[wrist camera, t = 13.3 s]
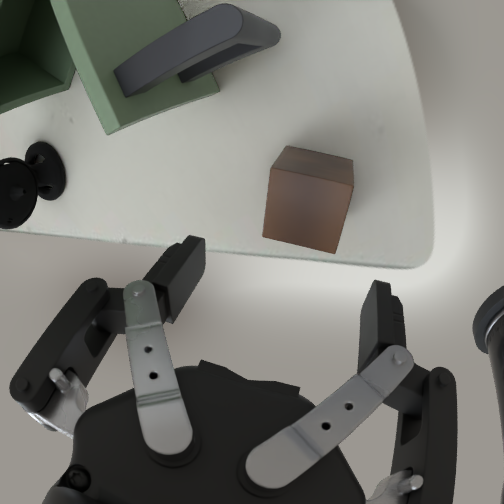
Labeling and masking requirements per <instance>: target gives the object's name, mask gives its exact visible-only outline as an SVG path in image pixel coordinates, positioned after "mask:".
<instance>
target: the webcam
mask: <svg viewBox="0 0 504 504" xmlns="http://www.w3.org/2000/svg"><path fill="white" fill-rule="evenodd" d="M37 154H40V155H42V156H43V157H44V158H45V160H44V161H43V162H42V163H37V164H35V157H36V155H37ZM4 163H9V164H5V165H4ZM46 185H51V186H53V187H52V189H49V188H47V187H45V186H46ZM64 185H65V174H64V169H63V165H62V163H61V160H60V158H59V157H58V155H57V153H56V152H55V150H54V149H53V148H52V147H51V146H50V145H48V144H47V143H44V142H36V143H34V144H32V145H31V146H30V147H29V148H28V150H27V152H26V155H25V161H23V160H21V159H18V158H11V157H10V158H5V159H2V160H0V228H2V229H13V228H17V227H19V226H20V225H22V224H23V223H24V222H25V221H27V219H28V218H29V217H30V216H31V214H32V212H33V210H34V208H35V205H36V202H37V197H38V195H39V196H40V197H41V198H43V199H45V200H49V201H51V200H55V199H57V198H58V197H59V196H60V195H61V194H62V192H63V190H64Z"/></svg>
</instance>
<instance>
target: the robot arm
mask: <svg viewBox="0 0 504 504" xmlns="http://www.w3.org/2000/svg"><path fill="white" fill-rule="evenodd" d="M205 264H206V263H205V239H204V238H200V237H196V236H192V235H189V236H187V238H186V239H185V240H184V241H183V243H182V244H180V243H176V244H174V245H172V246H170V247H169V248H168V249H167V250H166V251H165V252H164V253H163V255H162V256H161V257H160V258H159V260H158V261H157V262H156V263H155V265H154V266H153V267H152V268H151V269H150V271H149V272H148V273H147V274H146V276H145V277H144V278H143V279H142V280H137V281H133V282H131V283H129V284H128V285H127V286H126V287H125V288H108V286H107V283H106V281H105V280H103V279H101V278H91V279H88V280H86V281H84V283H82V284H81V285H80V287H79V288H78V289H77V290H76V291H75V293H74V294H73V295H72V296H71V298H70V299H69V300H68V302H67V303H66V304H65V305H64V307H63V308H62V309H61V310H60V312H59V313H58V314H57V316H56V317H55V318H54V320H53V321H52V323H51V324H50V325H49V326H48V328H47V329H46V330H45V332H44V333H43V334H42V336H41V337H40V339H39V340H38V341H37V343H36V344H35V346H34V347H33V348H32V350H31V351H30V353H29V354H28V356H27V357H26V359H25V360H24V361H23V363H22V364H21V366H20V367H19V369H18V370H17V372H16V373H15V375H14V377H13V378H12V380H11V382H10V388H9V389H10V394H11V396H12V397H13V399H14V400H15V401H17V403H19V404H20V405H21V406H22V408H23V409H24V410H25V411H26V412H27V413H28V414H29V415H30V416H31V417H32V418H34V419H35V420H36V421H37V422H39V423H41V424H42V425H43V426H44V427H45V428H47V429H48V430H50V431H60V432H61V433H63V434H65V435H66V436H68V437H70V438H72V439H73V453H72V458H71V462H70V465H69V467H68V469H67V470H66V472H65V473H64V474H63V475H62V477H61V478H60V479H59V480H58V481H57V482H56V483H55V484H54V485H53V486H52V487H51V488H50V490H49V492H48V493H47V495H46V497H45V499H44V501H43V503H42V504H452V503H453V495H454V486H455V475H456V461H457V393H456V381H455V378H454V376H453V374H452V373H451V372H450V371H449V370H448V369H446V368H443V367H436V368H434V369H432V371H431V372H430V371H428V370H426V369H424V368H422V367H420V366H418V365H416V364H415V363H414V359H413V356H412V355H411V353H410V352H409V351H408V350H407V349H406V335H405V324H404V316H403V305H402V304H401V302H400V300H399V298H398V297H397V296H393V295H391V286H390V283H386V282H382V281H378V280H374V281H373V283H372V286H371V288H370V290H369V292H368V294H367V297H366V299H365V301H364V303H363V307H362V310H361V316H360V339H359V340H360V341H359V357H358V370H357V374H355V375H354V376H353V377H352V378H350V379H349V380H348V381H347V382H346V383H345V384H343V385H342V386H341V387H340V388H339V389H337V390H336V391H335V392H334V393H333V394H331V395H330V396H329V397H328V398H326V399H325V400H324V401H323V402H321V403H320V404H319V405H318V406H315V405H314V404H313V403H312V402H310V401H309V400H308V399H306V398H305V397H303V396H301V395H299V391H300V387H297V386H293V385H289V384H284V383H281V382H277V381H256V380H255V381H254V380H247V379H245V378H243V377H241V376H240V375H238V374H236V373H234V372H233V371H231V370H229V369H227V368H226V367H223V366H220V365H216V364H213V363H210V362H207V361H204V360H201V361H200V363H199V365H198V366H184V367H179V368H176V369H174V368H173V364H172V360H171V356H170V353H169V349H168V345H167V341H166V337H165V333H164V329H163V324H164V323H165V321H166V322H169V323H172V324H173V323H174V321H175V320H176V318H177V317H178V315H179V313H180V312H181V310H182V308H183V307H184V305H185V303H186V302H187V300H188V298H189V297H190V295H191V294H192V292H193V290H194V289H195V287H196V285H197V284H198V282H199V280H200V279H201V277H202V275H203V273H204V270H205ZM117 334H126V341H127V348H128V354H129V361H130V366H131V373H132V379H133V384H134V388H133V389H130V390H128V391H126V392H124V393H122V394H119V395H117V396H115V397H113V398H111V399H108V400H106V401H104V402H102V403H99V404H97V405H95V406H92V407H91V408H89V409H87V410H86V405H87V402H88V392H87V390H86V387H87V385H88V383H89V381H90V379H91V378H92V376H93V374H94V373H95V371H96V369H97V367H98V366H99V364H100V362H101V361H102V359H103V357H104V356H105V354H106V352H107V351H108V349H109V347H110V346H111V344H112V342H113V341H114V339H115V337H116V336H117ZM484 340H485V344H486V347H487V349H488V353H489V358H490V362H491V367H492V372H493V377H494V382H495V387H496V393H497V399H498V404H499V412H500V419H501V428H502V439H503V450H504V307H503V308H502V309H500V310H499V311H498V312H497V313H496V314H495V315H494V316H493V317H492V319H491V320H490V321H489V323H488V325H487V327H486V329H485V332H484ZM381 403H384V404H386V405H388V406H390V407H392V408H394V409H396V410H398V411H399V412H398V422H397V432H396V440H395V448H394V455H393V461H392V467H391V474H390V476H389V477H387V478H385V479H383V480H381V481H380V482H379V484H378V485H377V486H376V489H375V491H374V494H373V495H372V496H371V498H369V499H368V500H366V499H365V495H364V492H363V490H362V488H361V486H360V484H359V482H358V480H357V479H356V477H355V475H354V473H353V471H352V470H351V468H350V466H349V464H348V462H347V461H346V459H345V457H344V455H343V453H342V451H341V450H340V448H339V446H338V444H340V443H341V442H342V441H343V440H344V439H345V438H347V437H348V436H349V435H350V434H351V433H352V432H353V431H354V430H355V429H356V428H357V427H358V426H359V425H360V424H361V423H362V422H363V421H365V420H366V418H368V417H369V416H370V415H371V414H372V413H373V412H374V411H375V410H376V408H377V407H378V406H379V405H380V404H381ZM501 504H504V483H503V488H502V494H501Z"/></svg>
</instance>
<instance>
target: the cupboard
mask: <svg viewBox="0 0 504 504" xmlns="http://www.w3.org/2000/svg"><path fill="white" fill-rule="evenodd" d="M75 69H76V67H75V64H74V62H73V59H72V57H71V54H70V52H69V50H68V47H67V44H66V42H65V39H64V37H63V34H62V32H61V29H60V26H59V24H58V21H57V18H56V16H55V13H54V10H53V7H52V4H51V1H50V0H0V114H2V113H4V112H7V111H9V110H12V109H14V108H16V107H19V106H22V105H24V104H27V103H30V102H32V101H35V100H38V99H41V98H44V97H47V96H50V95H53V94H56V93H59V92H62V91H65V90H68V89H69V87H70V84H71V81H72V78H73V75H74V72H75Z"/></svg>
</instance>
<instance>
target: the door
mask: <svg viewBox="0 0 504 504" xmlns="http://www.w3.org/2000/svg"><path fill="white" fill-rule="evenodd" d="M50 1H51V4H52V7H53V10H54V13H55V16H56V18H57V21H58V24H59V26H60V29H61V32H62V34H63V37H64V39H65V42H66V44H67V47H68V50H69V52H70V54H71V57H72V59H73V62H74V64H75V67H76V69H77V71H78V74H79V76H80V78H81V81H82V83H83V85H84V87H85V90H86V92H87V94H88V96H89V99H90V101H91V103H92V105H93V107H94V110H95V112H96V114H97V116H98V118H99V120H100V122H101V124H102V127H103V129H104V131H105V133H106V135H110V134H112V133H115V132H117V131H119V130H121V129H124V128H126V127H128V126H130V125H133V124H135V123H137V122H140V121H142V120H145V119H147V118H150V117H152V116H155V115H157V114H160V113H162V112H165V111H168V110H170V109H173V108H176V107H179V106H182V105H184V104H187V103H190V102H193V101H196V100H199V99H202V98H205V97H208V96H211V95H213V94H215V93H218V92H219V91H220V90H219V88H218V86H217V83H216V81H215V79H214V77H213V75H212V73H211V72H213V71H215V70H217V69H219V68H222V67H224V66H226V65H228V64H230V63H233V62H235V61H237V60H240V59H242V58H244V57H247V56H249V55H252V54H254V53H257V52H259V51H262V50H264V49H267V48H269V47H272V46H274V45H276V44H277V43H278V42H279V40H280V38H281V33H280V30H279V28H278V27H277V26H276V25H274V24H272V23H270V22H268V21H266V20H264V19H262V18H260V17H258V16H256V15H254V14H252V13H249V12H247V11H245V10H243V9H241V8H238V7H236V6H234V5H231V4H219V5H216V6H214V7H212V8H210V9H208V10H206V11H204V12H203V13H201V14H199V15H197V16H195V17H193V18H191V19H190V20H188V21H187V20H186V18H185V16H184V14H183V12H182V10H181V8H180V6H179V4H178V2H177V0H50Z"/></svg>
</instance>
